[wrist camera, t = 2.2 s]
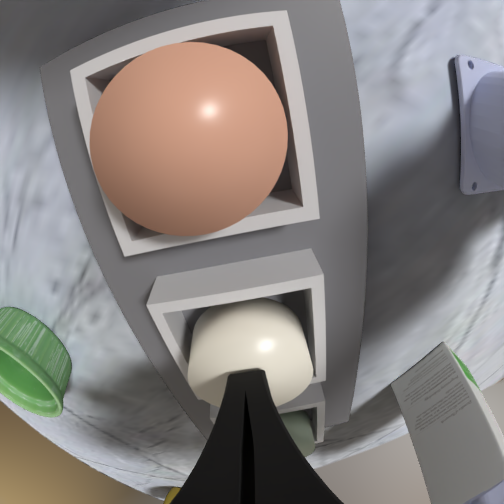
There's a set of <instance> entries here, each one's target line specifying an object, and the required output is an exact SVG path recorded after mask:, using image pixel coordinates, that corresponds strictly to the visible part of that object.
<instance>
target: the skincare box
mask: <svg viewBox="0 0 504 504" xmlns="http://www.w3.org/2000/svg"><path fill="white" fill-rule="evenodd" d="M391 387H392V389H393V392H394V394H395V397H396V399H397V401H398V404H399V407H400V409H401V412H402V414H403V417H404V420H405V423H406V425H407V428H408V431H409V434H410V437H411V440H412V443H413V446H414V449H415V451H416V454H417V458H418V461H419V464H420V467H421V470H422V473H423V477H424V480H425V484H426V487H427V491H428V494H429V498H430V501H431V504H463V503H465V502H466V501H468V500H470V499H471V498H473V497H475V496H476V495H478V494H480V493H482V492H483V491H486V490H488V489H489V488H491V487H493V486H494V485H496V484H497V483H499V482H501V481H502V480H504V436H503V434H502V432H501V430H500V428H499V426H498V424H497V422H496V420H495V418H494V416H493V414H492V412H491V410H490V408H489V406H488V404H487V402H486V400H485V399H484V396H483V395H482V392H481V391H480V389H479V387H478V385H477V383H476V382H475V380H474V378H473V376H472V375H471V373H470V371H469V370H468V368H467V366H466V365H465V364H464V363H463V361H462V360H461V359H460V358H459V357H458V356H457V355H456V354H455V353H454V352H453V351H452V350H451V348H450V347H449V346H448V345H447V344H446V343H445V342H442V343H441V344H440V345H439V346H438V347H436V348H435V349H434V350H433V351H432V352H431V353H429V354H428V355H427V356H426V357H425V358H424V359H422V360H421V361H420V362H419V363H417V364H416V365H415V366H414V367H412V368H411V369H410V370H409V371H407V372H406V373H405V374H403V375H402V376H401V377H399V378H398V379H397V380H395V381H394V382H393V383H391Z"/></svg>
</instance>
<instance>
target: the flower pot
mask: <svg viewBox="0 0 504 504" xmlns="http://www.w3.org/2000/svg"><path fill="white" fill-rule="evenodd" d="M180 489H181V488H178V487H173V488H172V489H171V490H170V491H169V493H168V494H167V496H166V498H165V500H164V503H163V504H170V502H171V501H172V500H173V498H174V497H175V496H176V494H177V493H178V492H179V490H180Z"/></svg>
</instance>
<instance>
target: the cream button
mask: <svg viewBox="0 0 504 504" xmlns="http://www.w3.org/2000/svg"><path fill="white" fill-rule="evenodd" d="M261 369H262V370H264V371H265V373H266V377H267V380H268V384H269V388H270V392H271V396H272V399H273V401H274V404H275V406H276V407H277V406H280V405H282V404H285V403H287V402H289V401H291V400H293V399H294V398H296V397H297V396H299V395H300V394H301V393H302V392H303V391H304V390H305V389H306V388H307V387H308V385H309V384H310V382H311V380H312V376H313V366H312V362H311V358H310V354H309V351H308V347H307V343H306V339H305V336H304V332H303V329H302V325H301V322H300V320H299V318H298V317H297V315H296V314H295V313H294V312H293V311H292V310H291V309H290V308H289V307H287V306H286V305H284V304H282V303H280V302H278V301H276V300H272V299H269V298H264V297H261V298H255V299H249V300H244V301H238V302H232V303H226V304H220V305H214V306H212V307H210V308H209V309H207V310H206V311H205V312H204V313H203V314H202V315H201V316H200V317H199V319H198V320H197V322H196V324H195V326H194V330H193V336H192V343H191V351H190V359H189V367H188V382H189V385H190V387H191V389H192V390H193V391H194V393H195V394H196V395H197V396H199V397H200V398H201V399H203V400H204V401H206V402H208V403H210V404H212V405H214V406H217V407H220V406H221V403H222V399H223V396H224V392H225V388H226V383H227V378H228V376H229V375H230V374H234V373H242V372H248V371H255V370H261Z"/></svg>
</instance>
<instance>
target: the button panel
mask: <svg viewBox="0 0 504 504" xmlns="http://www.w3.org/2000/svg"><path fill="white" fill-rule="evenodd" d="M183 42H201V43H208V44H213V45H218V46H221V47H224V48H227V49H230V50H232V51H234V52H236V53H238V54H240V55H241V56H243V57H245V58H246V59H247V60H249V61H250V62H252V63H253V64H254V65H255V66H256V67H257V68H258V69H260V70H261V71H262V72H263V73H264V75H265V76H266V77H267V78H268V80H269V81H270V82H271V83H272V85H273V87H274V88H275V90H276V92H277V94H278V95H279V98H280V100H281V103H282V105H283V108H284V112H285V116H286V120H287V130H288V143H287V152H286V157H285V162H284V165H283V168H282V171H281V173H280V176H279V178H278V180H277V182H276V184H275V186H274V187H273V189H272V190H271V192H270V193H269V195H268V196H267V197H266V198H265V200H264V201H263V202H262V203H261V204H260V205H259V206H258V207H257V208H256V209H255V210H254V211H253V212H252V213H251V214H249V215H248V216H246V217H245V218H244V219H242V220H241V221H239V222H237V223H235V224H233V225H232V226H230V227H227V228H225V229H222V230H220V231H217V232H213V233H209V234H205V235H197V236H175V235H168V234H163V233H159V232H156V231H153V230H150V229H147V228H145V227H143V226H141V225H139V224H137V223H136V222H134V221H133V220H131V219H130V218H128V217H127V216H125V215H124V214H123V213H122V212H121V211H120V210H118V209H117V207H116V206H115V205H114V204H113V203H112V202H111V201H110V200H109V198H108V197H107V195H106V194H105V193H104V191H103V189H102V187H101V186H100V184H99V182H98V180H97V177H96V174H95V172H94V169H93V165H92V161H91V155H90V129H91V123H92V118H93V115H94V111H95V108H96V106H97V104H98V101H99V99H100V97H101V95H102V94H103V92H104V90H105V89H106V87H107V85H108V84H109V83H110V82H111V80H112V79H113V78H114V77H115V76H116V74H118V73H119V72H120V71H121V70H122V69H123V68H124V67H125V66H126V65H127V64H129V63H130V62H132V61H133V60H134V59H136V58H137V57H139V56H141V55H143V54H145V53H146V52H148V51H151V50H153V49H156V48H159V47H161V46H165V45H170V44H174V43H183ZM40 72H41V79H42V85H43V91H44V96H45V102H46V107H47V111H48V116H49V121H50V125H51V129H52V133H53V137H54V141H55V145H56V149H57V152H58V156H59V159H60V163H61V166H62V169H63V173H64V176H65V179H66V182H67V185H68V188H69V191H70V194H71V197H72V200H73V203H74V205H75V208H76V211H77V214H78V216H79V219H80V221H81V224H82V227H83V229H84V232H85V234H86V236H87V239H88V241H89V244H90V246H91V248H92V251H93V253H94V255H95V257H96V260H97V262H98V264H99V266H100V269H101V271H102V273H103V275H104V277H105V279H106V281H107V283H108V285H109V287H110V289H111V291H112V293H113V295H114V297H115V299H116V301H117V303H118V305H119V307H120V309H121V311H122V313H123V314H124V316H125V318H126V320H127V322H128V324H129V325H130V327H131V329H132V331H133V332H134V334H135V336H136V338H137V339H138V341H139V343H140V344H141V346H142V348H143V349H144V351H145V353H146V354H147V356H148V358H149V359H150V361H151V362H152V364H153V366H154V367H155V369H156V370H157V372H158V373H159V375H160V376H161V378H162V379H163V381H164V382H165V384H166V385H167V387H168V388H169V390H170V391H171V393H172V394H173V396H174V397H175V398H176V400H177V401H178V403H179V404H180V405H181V407H182V408H183V410H184V411H185V412H186V414H187V415H188V416H189V418H190V419H191V420H192V422H193V423H194V424H195V426H196V427H197V428H198V429H199V431H200V432H201V433H202V434H203V436H204V437H205V438H206V439H207V441H208V438H209V436H210V434H211V431H212V429H213V426H214V424H215V421H216V418H217V415H218V412H219V409H220V407H217V406H214V405H212V404H210V403H208V402H206V401H204V400H203V399H201V398H200V397H199V396H197V395H196V394H195V393H194V391H193V390H192V389H191V387H190V385H189V382H188V367H189V359H190V351H191V343H192V336H193V330H194V326H195V324H196V322H197V320H198V319H199V317H200V316H201V315H202V314H203V313H204V312H205V311H206V310H207V309H209V308H210V307H212V306H214V305H220V304H226V303H232V302H238V301H244V300H249V299H255V298H261V297H264V298H269V299H272V300H276V301H278V302H280V303H282V304H284V305H286V306H287V307H289V308H290V309H291V310H292V311H293V312H294V313H295V314H296V315H297V317H298V318H299V320H300V322H301V325H302V329H303V332H304V336H305V339H306V343H307V347H308V351H309V354H310V358H311V362H312V366H313V376H312V380H311V382H310V384H309V385H308V387H307V388H306V389H305V390H304V391H303V392H302V393H301V394H300V395H299V396H297V397H296V398H294V399H293V400H291V401H289V402H287V403H285V404H282V405H280V406H277V407H276V408H277V410H278V413H279V414H282V413H287V412H293V411H298V410H303V411H305V412H306V413H307V414H308V415H309V419H310V424H311V428H312V433H313V438H314V443H315V444H316V443H320V442H324V427H329V426H333V425H337V424H341V423H345V422H349V417H350V411H351V406H352V401H353V395H354V389H355V383H356V376H357V370H358V362H359V355H360V347H361V338H362V328H363V318H364V306H365V291H366V273H367V232H368V223H367V182H366V164H365V150H364V138H363V128H362V118H361V110H360V102H359V95H358V88H357V81H356V75H355V69H354V63H353V58H352V52H351V47H350V42H349V38H348V33H347V28H346V24H345V20H344V16H343V12H342V8H341V4H340V0H205V1H201V2H196V3H192V4H188V5H184V6H180V7H176V8H173V9H169V10H166V11H162V12H159V13H156V14H153V15H150V16H147V17H144V18H141V19H138V20H135V21H132V22H130V23H127V24H125V25H122V26H120V27H117V28H115V29H112V30H110V31H108V32H105V33H103V34H101V35H99V36H96V37H94V38H92V39H90V40H88V41H86V42H84V43H82V44H80V45H78V46H76V47H74V48H72V49H70V50H68V51H67V52H65V53H63V54H61V55H59V56H58V57H56V58H54V59H52V60H51V61H49V62H47V63H46V64H44V65H43V66H41V67H40Z"/></svg>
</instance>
